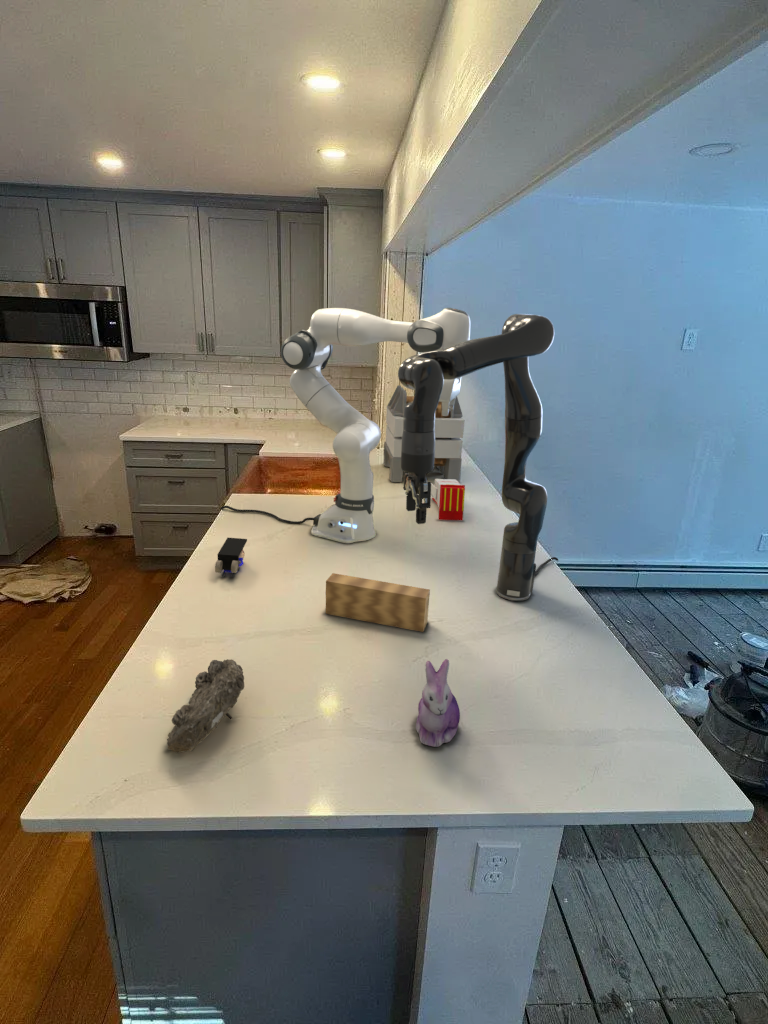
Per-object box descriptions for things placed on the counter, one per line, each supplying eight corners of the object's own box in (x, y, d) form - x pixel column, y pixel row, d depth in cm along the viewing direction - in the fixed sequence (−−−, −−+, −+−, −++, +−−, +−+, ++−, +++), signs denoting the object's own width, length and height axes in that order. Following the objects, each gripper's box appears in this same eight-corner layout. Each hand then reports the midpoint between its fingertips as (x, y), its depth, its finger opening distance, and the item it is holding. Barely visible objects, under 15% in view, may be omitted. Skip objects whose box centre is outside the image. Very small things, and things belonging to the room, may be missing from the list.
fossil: (192, 660, 117) (244, 628, 112) (224, 691, 120) (276, 661, 115) (142, 746, 98) (202, 712, 93) (182, 779, 101) (242, 748, 96)
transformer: (382, 463, 289) (386, 382, 275) (445, 464, 293) (451, 384, 279) (390, 482, 257) (394, 392, 243) (460, 483, 261) (468, 394, 247)
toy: (456, 474, 239) (469, 486, 210) (455, 506, 242) (467, 521, 213) (428, 474, 239) (436, 485, 210) (426, 505, 242) (435, 520, 212)
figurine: (430, 757, 101) (436, 686, 95) (402, 721, 109) (406, 654, 104) (473, 741, 105) (481, 672, 100) (443, 707, 113) (449, 643, 108)
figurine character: (238, 584, 162) (249, 557, 175) (236, 562, 158) (247, 536, 172) (215, 584, 161) (227, 556, 175) (212, 561, 158) (225, 535, 171)
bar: (325, 613, 146) (325, 580, 143) (332, 604, 151) (332, 573, 147) (423, 632, 140) (425, 598, 137) (427, 622, 144) (430, 589, 141)
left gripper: (447, 363, 178) (443, 407, 182) (435, 368, 159) (431, 417, 164) (467, 364, 176) (462, 409, 181) (457, 370, 158) (452, 419, 162)
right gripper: (444, 456, 121) (440, 526, 127) (425, 441, 134) (422, 505, 140) (410, 458, 120) (408, 529, 126) (394, 442, 133) (392, 507, 138)
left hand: (447, 413), depth 172 cm, fingers open, 8 cm apart
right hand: (415, 516), depth 133 cm, fingers open, 8 cm apart
